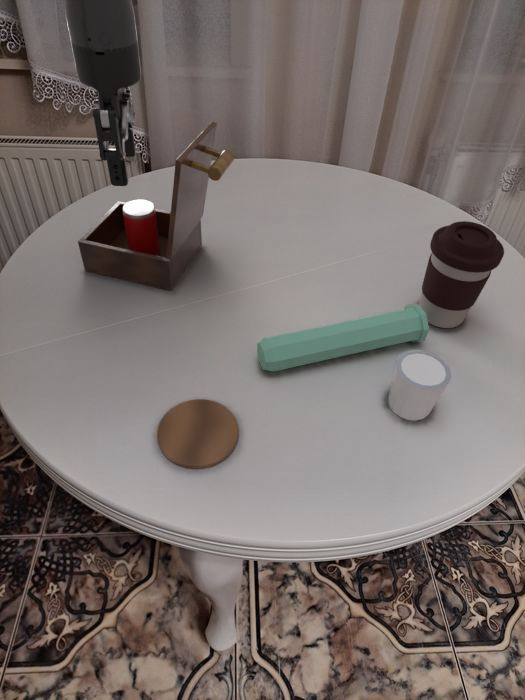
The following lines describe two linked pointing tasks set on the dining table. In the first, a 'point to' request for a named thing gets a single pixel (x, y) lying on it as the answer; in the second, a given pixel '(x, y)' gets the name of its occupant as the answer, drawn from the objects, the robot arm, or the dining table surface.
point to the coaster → (198, 433)
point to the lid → (194, 185)
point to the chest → (119, 262)
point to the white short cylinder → (417, 384)
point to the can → (141, 227)
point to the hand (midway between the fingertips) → (124, 169)
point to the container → (343, 338)
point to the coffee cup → (458, 271)
